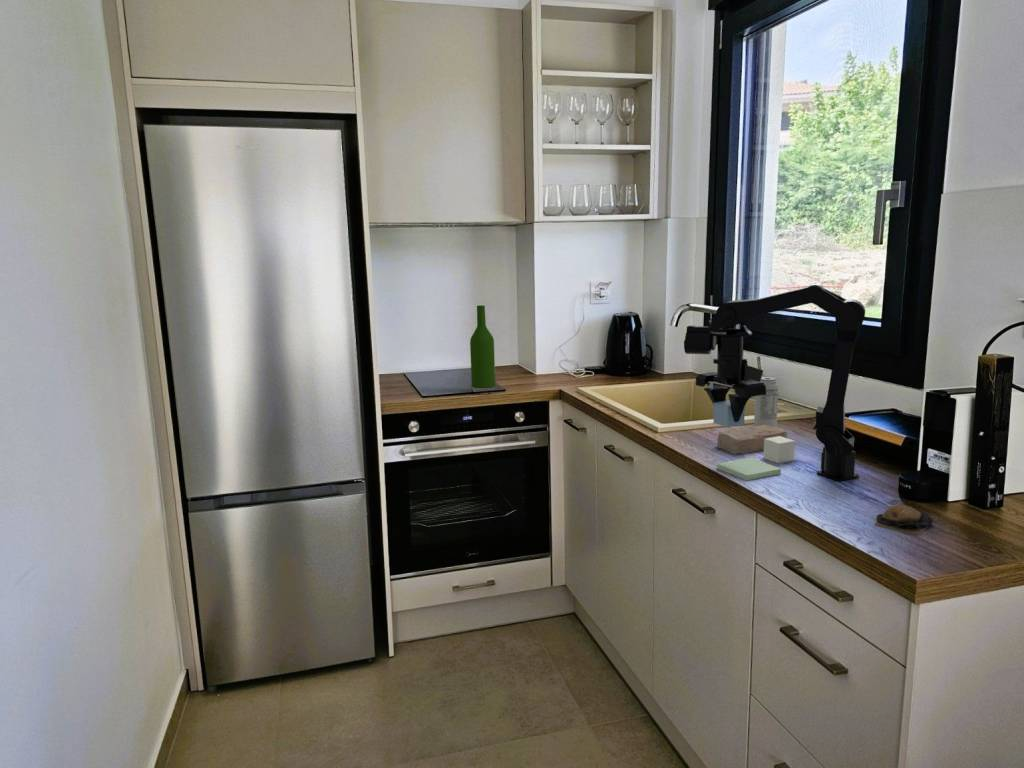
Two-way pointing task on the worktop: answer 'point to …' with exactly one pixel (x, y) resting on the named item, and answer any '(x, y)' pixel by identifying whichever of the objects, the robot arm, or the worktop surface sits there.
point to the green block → (748, 468)
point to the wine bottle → (482, 354)
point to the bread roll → (904, 519)
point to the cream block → (779, 449)
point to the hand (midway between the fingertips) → (729, 419)
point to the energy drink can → (767, 404)
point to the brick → (747, 438)
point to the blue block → (726, 415)
